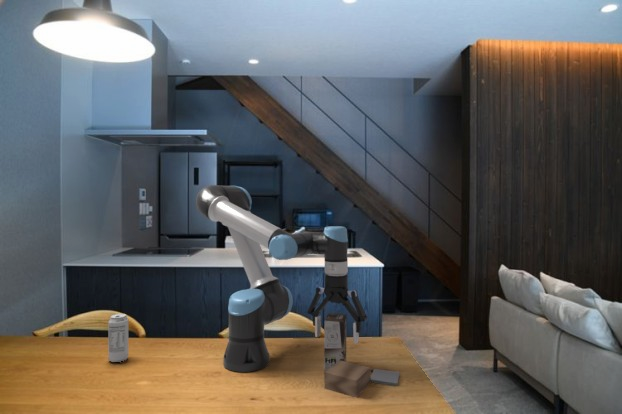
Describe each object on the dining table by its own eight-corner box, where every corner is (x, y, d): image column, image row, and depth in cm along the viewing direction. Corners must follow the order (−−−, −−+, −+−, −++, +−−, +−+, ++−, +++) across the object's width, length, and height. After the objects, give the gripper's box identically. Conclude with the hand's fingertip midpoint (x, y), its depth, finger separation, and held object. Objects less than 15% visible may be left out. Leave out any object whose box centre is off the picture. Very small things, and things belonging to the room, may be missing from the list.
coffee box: (343, 372, 124) (344, 321, 124) (323, 371, 126) (323, 320, 125) (346, 361, 133) (347, 313, 133) (328, 359, 135) (328, 312, 134)
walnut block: (324, 389, 114) (324, 372, 114) (340, 376, 122) (340, 360, 122) (356, 398, 109) (356, 380, 109) (370, 384, 117) (370, 367, 117)
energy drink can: (131, 356, 136) (131, 313, 136) (123, 363, 130) (123, 318, 130) (113, 356, 136) (113, 313, 136) (105, 363, 130) (104, 318, 130)
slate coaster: (369, 382, 118) (369, 379, 118) (374, 371, 126) (374, 368, 126) (397, 386, 115) (397, 383, 115) (399, 374, 123) (399, 372, 123)
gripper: (297, 272, 132) (297, 336, 132) (368, 279, 120) (369, 349, 120) (308, 269, 138) (308, 330, 138) (376, 275, 126) (377, 341, 127)
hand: (336, 339), depth 129 cm, fingers open, 13 cm apart
